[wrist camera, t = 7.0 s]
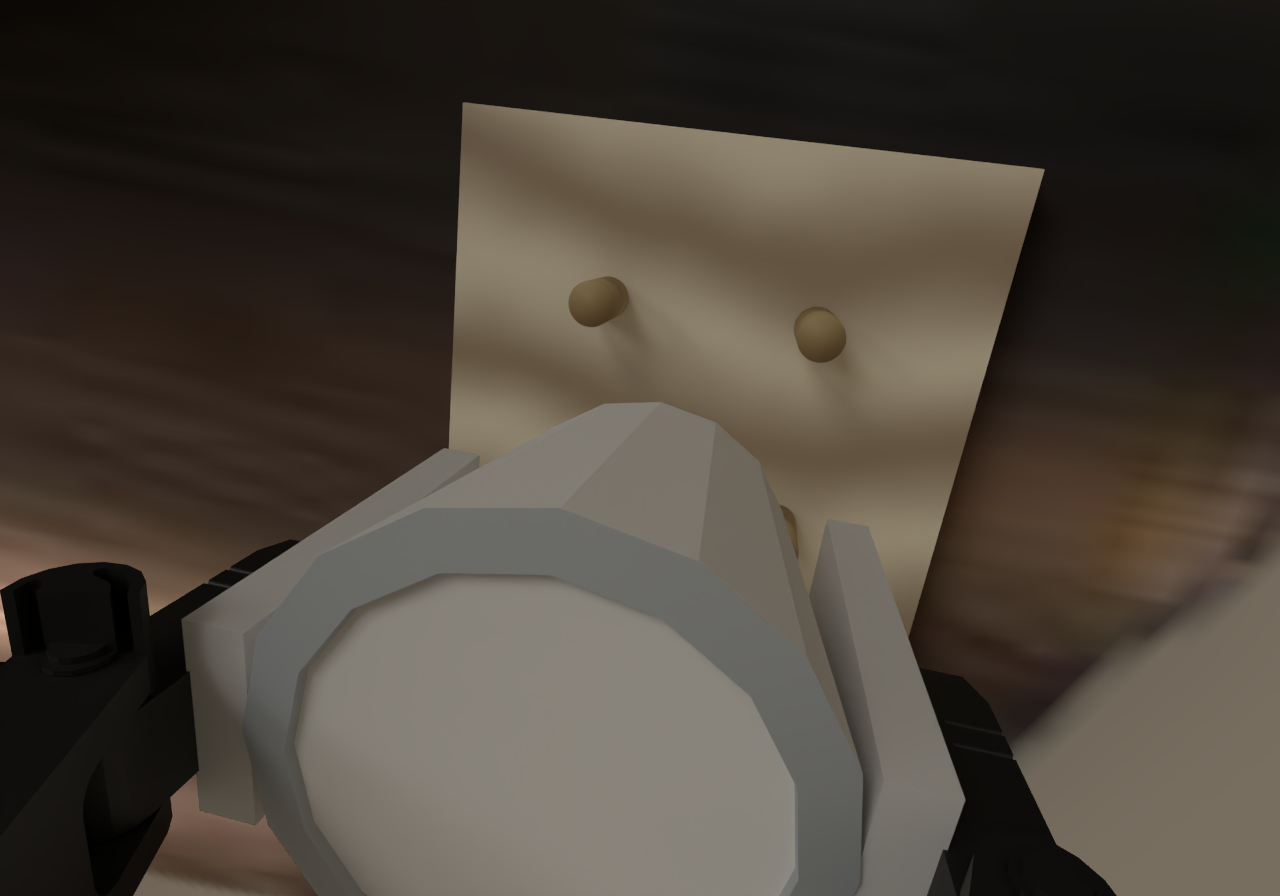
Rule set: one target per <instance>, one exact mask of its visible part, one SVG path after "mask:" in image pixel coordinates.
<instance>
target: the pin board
mask: <svg viewBox="0 0 1280 896" xmlns="http://www.w3.org/2000/svg"><path fill="white" fill-rule="evenodd" d="M1044 170H1045V169H1038V168H1029V167H1021V166H1012V165H1003V164H995V163H986V162H977V161H968V160H960V159H951V158H942V157H934V156H925V155H916V154H908V153H899V152H890V151H881V150H873V149H864V148H855V147H847V146H838V145H829V144H821V143H812V142H803V141H794V140H786V139H777V138H768V137H760V136H751V135H742V134H734V133H725V132H716V131H707V130H699V129H690V128H681V127H673V126H664V125H655V124H647V123H638V122H629V121H621V120H612V119H603V118H594V117H586V116H577V115H568V114H560V113H551V112H542V111H534V110H525V109H516V108H507V107H499V106H490V105H481V104H473V103H464V102H463V115H462V140H461V164H460V188H459V213H458V237H457V262H456V286H455V310H454V335H453V359H452V384H451V408H450V433H449V449H452V450H457V451H463V452H468V453H473V454H479V455H480V461H479V468H480V467H482V466H484V465H485V464H487V463H489V462H491V461H493V460H495V459H496V458H498V457H500V456H502V455H504V454H506V453H507V452H509V451H511V450H513V449H515V448H517V447H518V446H520V445H522V444H524V443H526V442H528V441H529V440H531V439H533V438H535V437H537V436H539V435H540V434H542V433H544V432H546V431H548V430H550V429H551V428H553V427H555V426H557V425H559V424H561V423H564V422H566V421H568V420H570V419H572V418H574V417H577V416H579V415H581V414H583V413H585V412H587V411H590V410H592V409H594V408H596V407H598V406H600V405H603V404H610V403H645V402H662V403H665V404H668V405H671V406H673V407H676V408H679V409H681V410H684V411H687V412H689V413H692V414H695V415H698V416H700V417H703V418H706V419H708V420H711V421H714V422H716V423H717V424H718V425H719V426H721V427H722V428H723V429H724V430H725V431H726V432H727V433H728V434H729V435H731V436H732V437H733V438H734V439H735V440H736V441H737V442H738V443H739V444H740V445H742V446H743V447H744V448H745V449H746V450H747V451H748V452H749V453H750V454H751V455H753V456H754V457H755V458H756V459H757V460H758V461H759V462H760V465H761V467H762V469H763V471H764V473H765V475H766V478H767V480H768V482H769V484H770V486H771V488H772V490H773V493H774V495H775V497H776V499H777V501H778V503H779V505H780V508H781V510H782V512H783V515H784V519H785V522H786V525H787V528H788V532H789V535H790V538H791V541H792V544H793V548H794V551H795V554H796V557H797V561H798V564H799V567H800V570H801V574H802V577H803V580H804V583H805V587H806V590H807V593H808V596H809V594H810V589H811V585H812V581H813V577H814V572H815V568H816V564H817V559H818V555H819V551H820V547H821V542H822V538H823V534H824V529H825V525H826V521H827V519H832V520H837V521H842V522H848V523H853V524H859V525H864V526H868V527H869V530H870V533H871V535H872V538H873V541H874V544H875V547H876V549H877V552H878V555H879V558H880V561H881V564H882V566H883V569H884V572H885V575H886V578H887V580H888V583H889V586H890V589H891V592H892V594H893V597H894V600H895V603H896V606H897V609H898V611H899V614H900V617H901V620H902V623H903V625H904V628H905V631H906V634H907V637H909V634H910V630H911V627H912V623H913V620H914V617H915V613H916V610H917V606H918V603H919V599H920V596H921V592H922V589H923V586H924V582H925V579H926V575H927V572H928V568H929V565H930V562H931V558H932V555H933V551H934V548H935V544H936V541H937V537H938V534H939V531H940V527H941V524H942V520H943V517H944V513H945V510H946V507H947V503H948V500H949V496H950V493H951V489H952V486H953V482H954V479H955V476H956V472H957V469H958V465H959V462H960V458H961V455H962V452H963V448H964V445H965V441H966V438H967V434H968V431H969V427H970V424H971V421H972V417H973V414H974V410H975V407H976V403H977V400H978V397H979V393H980V390H981V386H982V383H983V379H984V376H985V372H986V369H987V366H988V362H989V359H990V355H991V352H992V348H993V345H994V342H995V338H996V335H997V331H998V328H999V324H1000V321H1001V317H1002V314H1003V311H1004V307H1005V304H1006V300H1007V297H1008V293H1009V290H1010V287H1011V283H1012V280H1013V276H1014V273H1015V269H1016V266H1017V263H1018V259H1019V256H1020V252H1021V249H1022V245H1023V242H1024V238H1025V235H1026V232H1027V228H1028V225H1029V221H1030V218H1031V214H1032V211H1033V208H1034V204H1035V201H1036V197H1037V194H1038V190H1039V187H1040V183H1041V180H1042V177H1043V173H1044Z"/></svg>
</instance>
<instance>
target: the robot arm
mask: <svg viewBox="0 0 1280 896" xmlns="http://www.w3.org/2000/svg"><path fill="white" fill-rule="evenodd" d="M479 461H480V455H479V454H473V453H468V452H463V451H457V450H452V449H446V448H444V449H442V450H441V451H439V452H438V453H436V454H434V455H433V456H431V457H430V458H428V459H427V460H425V461H424V462H422V463H421V464H419V465H418V466H416V467H415V468H413V469H411V470H410V471H408V472H407V473H405V474H404V475H402V476H401V477H399V478H398V479H396V480H395V481H393V482H391V483H390V484H388V485H387V486H385V487H384V488H382V489H381V490H379V491H378V492H376V493H375V494H373V495H372V496H370V497H368V498H367V499H365V500H364V501H362V502H361V503H359V504H358V505H356V506H355V507H353V508H352V509H350V510H349V511H347V512H345V513H344V514H342V515H341V516H339V517H338V518H336V519H335V520H333V521H332V522H330V523H329V524H327V525H326V526H324V527H322V528H321V529H319V530H318V531H316V532H315V533H313V534H312V535H310V536H309V537H307V538H306V539H304V540H302V541H301V542H300V541H296V540H288V541H285V542H282V543H279V544H276V545H273V546H270V547H266V548H263V549H260V550H257V551H256V552H254V553H252V554H251V555H249V556H247V557H246V558H244V559H243V560H241V561H239V562H238V563H236V564H234V565H233V566H231V569H230V570H225V571H223V572H221V573H220V574H218V575H216V576H215V577H213V578H212V579H210V580H209V583H208V584H204V583H203V584H202V585H200V586H199V587H197V588H195V589H194V590H192V591H190V592H189V593H187V594H185V595H184V596H182V597H181V598H179V599H177V600H176V601H174V602H172V603H171V604H169V605H168V606H166V607H164V608H163V609H161V610H159V611H158V612H156V613H154V614H153V615H151V616H150V614H149V605H148V596H147V587H146V580H145V578H144V576H143V574H142V572H141V571H139V570H137V569H135V568H133V567H131V566H128V565H124V564H116V563H108V562H97V563H79V564H73V565H68V566H62V567H57V568H52V569H48V570H45V571H42V572H39V573H36V574H33V575H30V576H27V577H24V578H21V579H19V580H18V581H16V582H14V583H12V584H10V585H9V586H7V587H5V588H3V589H1V590H0V593H1V599H2V604H3V609H4V615H5V620H6V625H7V630H8V636H9V641H10V646H11V652H12V657H11V658H9V659H8V660H7V661H6V662H0V896H133V895H134V893H135V891H136V889H137V887H138V886H139V884H140V882H141V880H142V878H143V877H144V875H145V873H146V871H147V869H148V868H149V866H150V864H151V862H152V860H153V858H154V857H155V855H156V853H157V851H158V849H159V848H160V846H161V844H162V842H163V840H164V838H165V837H166V835H167V833H168V830H169V826H170V823H171V819H172V809H171V800H170V797H171V796H172V795H173V794H174V793H175V792H176V791H178V790H179V789H180V788H181V787H182V786H183V785H184V784H185V783H186V782H187V781H188V780H189V779H190V778H191V777H192V776H194V775H195V774H196V776H197V787H198V797H199V807H200V811H204V812H207V813H211V814H215V815H219V816H222V817H226V818H230V819H233V820H237V821H241V822H245V823H248V824H252V825H256V824H257V823H258V822H259V821H260V820H261V818H262V817H263V816H264V815H265V811H264V808H263V804H262V801H261V797H260V793H259V790H258V786H257V783H256V779H255V776H254V772H253V768H252V765H251V761H250V758H249V754H248V750H247V747H246V743H245V740H244V736H243V733H242V726H243V720H244V713H245V707H246V700H247V694H248V688H249V681H250V675H251V668H252V662H253V656H254V649H255V643H256V636H257V635H258V633H259V632H260V631H261V629H262V628H263V627H264V625H265V624H266V623H267V621H268V620H269V619H270V618H271V616H272V615H273V614H274V612H275V611H276V610H277V608H278V607H279V606H280V605H281V603H282V602H283V601H284V599H285V598H286V597H287V595H288V594H289V593H290V592H291V590H292V589H293V588H294V586H295V585H296V584H297V582H298V581H299V580H300V579H301V577H302V576H303V575H304V573H305V572H306V571H307V569H308V568H309V567H310V566H311V564H312V563H313V562H314V560H315V559H316V558H317V556H318V555H320V554H322V553H324V552H326V551H328V550H330V549H331V548H333V547H335V546H337V545H339V544H341V543H342V542H344V541H346V540H348V539H350V538H352V537H353V536H355V535H357V534H359V533H361V532H363V531H364V530H366V529H368V528H370V527H372V526H374V525H375V524H377V523H379V522H381V521H383V520H385V519H386V518H388V517H390V516H392V515H394V514H396V513H397V512H399V511H401V510H403V509H405V508H407V507H408V506H410V505H412V504H414V503H416V502H418V501H419V500H421V499H423V498H425V497H427V496H429V495H430V494H432V493H434V492H436V491H438V490H440V489H441V488H443V487H445V486H447V485H449V484H451V483H452V482H454V481H456V480H458V479H460V478H462V477H463V476H465V475H467V474H469V473H471V472H473V471H474V470H476V469H478V468H479ZM809 600H810V603H811V606H812V609H813V613H814V616H815V619H816V622H817V626H818V629H819V632H820V635H821V639H822V642H823V645H824V648H825V651H826V655H827V658H828V661H829V664H830V668H831V671H832V674H833V677H834V681H835V684H836V687H837V690H838V694H839V697H840V700H841V703H842V707H843V710H844V713H845V716H846V720H847V723H848V726H849V729H850V733H851V736H852V739H853V742H854V746H855V749H856V752H857V755H858V758H859V762H860V765H861V768H862V771H863V802H862V838H861V874H860V885H859V887H858V888H857V890H856V892H855V893H854V895H853V896H1116V894H1115V893H1114V892H1113V890H1112V889H1111V888H1110V886H1109V885H1108V884H1107V883H1106V881H1105V880H1104V879H1103V878H1102V877H1100V876H1099V875H1098V874H1097V873H1096V872H1095V871H1093V870H1092V869H1091V868H1090V867H1089V866H1087V865H1086V864H1085V863H1084V862H1083V861H1082V860H1081V859H1079V858H1078V857H1076V856H1075V855H1073V854H1071V853H1070V852H1068V851H1066V850H1064V849H1063V848H1061V847H1059V846H1058V845H1056V843H1055V841H1054V839H1053V837H1052V835H1051V833H1050V830H1049V828H1048V826H1047V824H1046V822H1045V820H1044V818H1043V816H1042V814H1041V812H1040V810H1039V808H1038V806H1037V803H1036V801H1035V799H1034V797H1033V795H1032V793H1031V791H1030V789H1029V787H1028V785H1027V782H1026V780H1025V778H1024V776H1023V774H1022V772H1021V770H1020V768H1019V766H1018V764H1017V762H1016V760H1013V753H1012V751H1011V749H1010V747H1009V745H1008V743H1007V741H1006V739H1005V737H1004V736H1002V735H1001V733H1002V730H1001V728H1000V726H999V724H998V722H997V720H996V718H995V716H994V714H993V711H992V709H991V707H990V705H989V703H988V702H987V701H986V700H985V699H984V698H983V697H982V696H981V695H980V694H979V693H978V692H977V691H976V690H975V689H974V688H973V687H972V686H971V685H970V684H969V683H968V682H967V681H966V680H965V679H964V678H963V677H960V676H955V675H950V674H945V673H941V672H936V671H931V670H926V669H921V668H918V665H917V662H916V659H915V656H914V654H913V651H912V648H911V645H910V642H909V639H908V637H907V634H906V631H905V628H904V625H903V623H902V620H901V617H900V614H899V611H898V609H897V606H896V603H895V600H894V597H893V594H892V592H891V589H890V586H889V583H888V580H887V578H886V575H885V572H884V569H883V566H882V564H881V561H880V558H879V555H878V552H877V549H876V547H875V544H874V541H873V538H872V535H871V533H870V530H869V527H868V526H864V525H859V524H853V523H848V522H842V521H837V520H832V519H827V521H826V525H825V529H824V534H823V538H822V542H821V547H820V551H819V555H818V559H817V564H816V568H815V572H814V577H813V581H812V585H811V589H810V594H809Z"/></svg>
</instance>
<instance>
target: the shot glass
mask: <svg viewBox="0 0 1280 896" xmlns="http://www.w3.org/2000/svg"><path fill="white" fill-rule="evenodd" d="M242 733H243V736H244V740H245V743H246V747H247V750H248V754H249V758H250V761H251V765H252V768H253V772H254V776H255V779H256V783H257V786H258V790H259V793H260V797H261V801H262V804H263V808H264V811H265V815H266V819H267V822H268V825H269V827H270V828H271V830H272V831H273V832H274V834H275V835H276V837H277V838H278V840H279V841H280V842H281V844H282V845H283V847H284V848H285V850H286V851H287V852H288V854H289V855H290V857H291V858H292V859H293V861H294V862H295V864H296V865H297V867H298V868H299V869H300V871H301V872H302V874H303V875H304V877H305V878H306V879H307V881H308V882H309V884H310V885H311V887H312V888H313V889H314V891H315V892H316V894H317V895H318V896H853V895H854V893H855V892H856V890H857V888H858V887H859V885H860V874H861V838H862V802H863V771H862V768H861V765H860V762H859V758H858V755H857V752H856V749H855V746H854V742H853V739H852V736H851V733H850V729H849V726H848V723H847V720H846V716H845V713H844V710H843V707H842V703H841V700H840V697H839V694H838V690H837V687H836V684H835V681H834V677H833V674H832V671H831V668H830V664H829V661H828V658H827V655H826V651H825V648H824V645H823V642H822V639H821V635H820V632H819V629H818V626H817V622H816V619H815V616H814V613H813V609H812V606H811V603H810V600H809V596H808V593H807V590H806V587H805V583H804V580H803V577H802V574H801V570H800V567H799V564H798V561H797V557H796V554H795V551H794V548H793V544H792V541H791V538H790V535H789V532H788V528H787V525H786V522H785V519H784V515H783V512H782V510H781V508H780V505H779V503H778V501H777V499H776V497H775V495H774V493H773V490H772V488H771V486H770V484H769V482H768V480H767V478H766V475H765V473H764V471H763V469H762V467H761V465H760V462H759V461H758V460H757V459H756V458H755V457H754V456H753V455H751V454H750V453H749V452H748V451H747V450H746V449H745V448H744V447H743V446H742V445H740V444H739V443H738V442H737V441H736V440H735V439H734V438H733V437H732V436H731V435H729V434H728V433H727V432H726V431H725V430H724V429H723V428H722V427H721V426H719V425H718V424H717V423H716V422H714V421H711V420H708V419H706V418H703V417H700V416H698V415H695V414H692V413H689V412H687V411H684V410H681V409H679V408H676V407H673V406H671V405H668V404H665V403H662V402H645V403H610V404H603V405H600V406H598V407H596V408H594V409H592V410H590V411H587V412H585V413H583V414H581V415H579V416H577V417H574V418H572V419H570V420H568V421H566V422H564V423H561V424H559V425H557V426H555V427H553V428H551V429H550V430H548V431H546V432H544V433H542V434H540V435H539V436H537V437H535V438H533V439H531V440H529V441H528V442H526V443H524V444H522V445H520V446H518V447H517V448H515V449H513V450H511V451H509V452H507V453H506V454H504V455H502V456H500V457H498V458H496V459H495V460H493V461H491V462H489V463H487V464H485V465H484V466H482V467H480V468H478V469H476V470H474V471H473V472H471V473H469V474H467V475H465V476H463V477H462V478H460V479H458V480H456V481H454V482H452V483H451V484H449V485H447V486H445V487H443V488H441V489H440V490H438V491H436V492H434V493H432V494H430V495H429V496H427V497H425V498H423V499H421V500H419V501H418V502H416V503H414V504H412V505H410V506H408V507H407V508H405V509H403V510H401V511H399V512H397V513H396V514H394V515H392V516H390V517H388V518H386V519H385V520H383V521H381V522H379V523H377V524H375V525H374V526H372V527H370V528H368V529H366V530H364V531H363V532H361V533H359V534H357V535H355V536H353V537H352V538H350V539H348V540H346V541H344V542H342V543H341V544H339V545H337V546H335V547H333V548H331V549H330V550H328V551H326V552H324V553H322V554H320V555H318V556H317V558H316V559H315V560H314V562H313V563H312V564H311V566H310V567H309V568H308V569H307V571H306V572H305V573H304V575H303V576H302V577H301V579H300V580H299V581H298V582H297V584H296V585H295V586H294V588H293V589H292V590H291V592H290V593H289V594H288V595H287V597H286V598H285V599H284V601H283V602H282V603H281V605H280V606H279V607H278V608H277V610H276V611H275V612H274V614H273V615H272V616H271V618H270V619H269V620H268V621H267V623H266V624H265V625H264V627H263V628H262V629H261V631H260V632H259V633H258V635H257V636H256V643H255V649H254V656H253V662H252V668H251V675H250V681H249V688H248V694H247V700H246V707H245V713H244V720H243V726H242Z"/></svg>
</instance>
